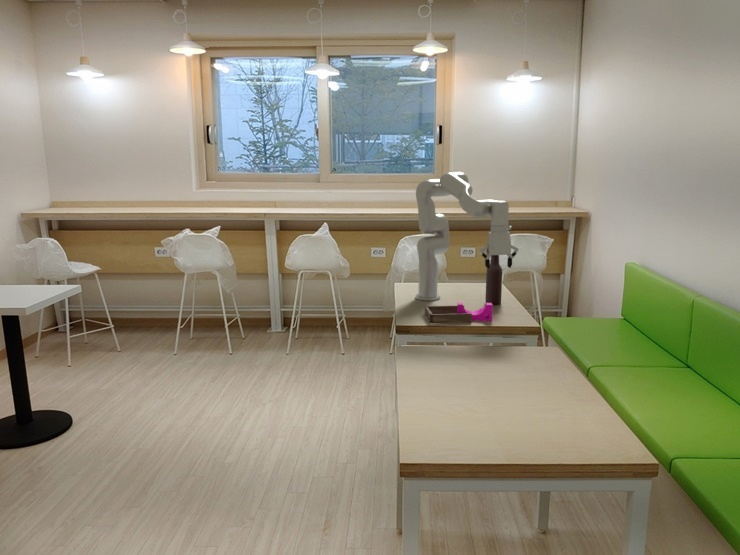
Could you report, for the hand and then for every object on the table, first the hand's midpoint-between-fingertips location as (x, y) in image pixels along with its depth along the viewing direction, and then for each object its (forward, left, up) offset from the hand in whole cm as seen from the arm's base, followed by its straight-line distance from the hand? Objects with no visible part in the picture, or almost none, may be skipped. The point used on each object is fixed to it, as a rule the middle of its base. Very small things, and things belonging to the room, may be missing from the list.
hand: (498, 267), depth 260 cm
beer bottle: (-24, +5, -23) cm, 33 cm away
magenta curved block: (+2, -11, -23) cm, 26 cm away
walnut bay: (+1, -23, -23) cm, 32 cm away
